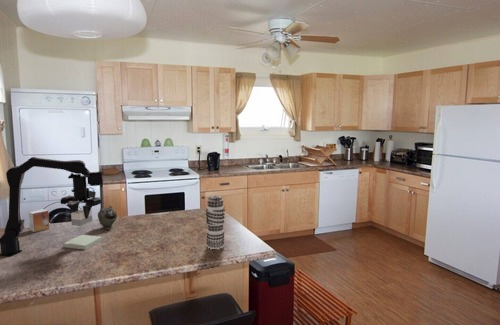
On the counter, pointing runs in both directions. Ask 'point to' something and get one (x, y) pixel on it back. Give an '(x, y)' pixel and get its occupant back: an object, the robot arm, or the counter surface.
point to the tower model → (215, 222)
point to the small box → (39, 220)
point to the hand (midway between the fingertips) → (82, 218)
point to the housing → (80, 218)
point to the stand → (83, 242)
